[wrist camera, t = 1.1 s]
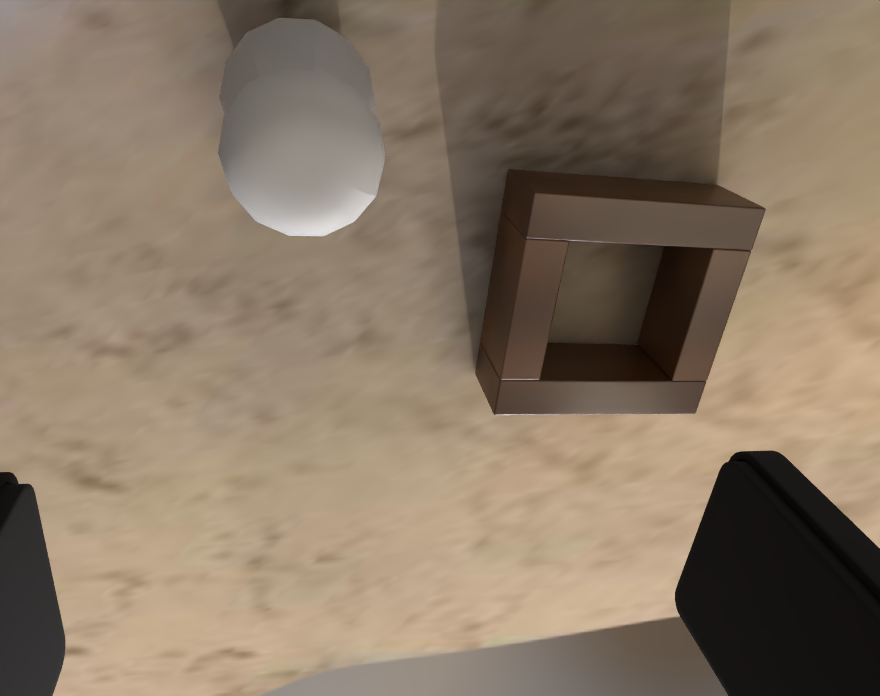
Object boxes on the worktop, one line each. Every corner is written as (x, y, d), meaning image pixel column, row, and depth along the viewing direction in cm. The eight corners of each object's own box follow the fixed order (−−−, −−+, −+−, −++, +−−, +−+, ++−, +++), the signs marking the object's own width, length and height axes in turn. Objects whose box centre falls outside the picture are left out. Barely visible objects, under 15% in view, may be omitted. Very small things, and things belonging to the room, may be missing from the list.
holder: (507, 168, 31) (534, 192, 28) (718, 184, 34) (766, 208, 30) (474, 374, 36) (493, 415, 33) (660, 375, 39) (695, 414, 35)
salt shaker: (269, 183, 30) (255, 307, 18) (198, 52, 27) (129, 105, 16) (391, 127, 29) (451, 218, 18) (332, -11, 27) (360, -4, 15)
